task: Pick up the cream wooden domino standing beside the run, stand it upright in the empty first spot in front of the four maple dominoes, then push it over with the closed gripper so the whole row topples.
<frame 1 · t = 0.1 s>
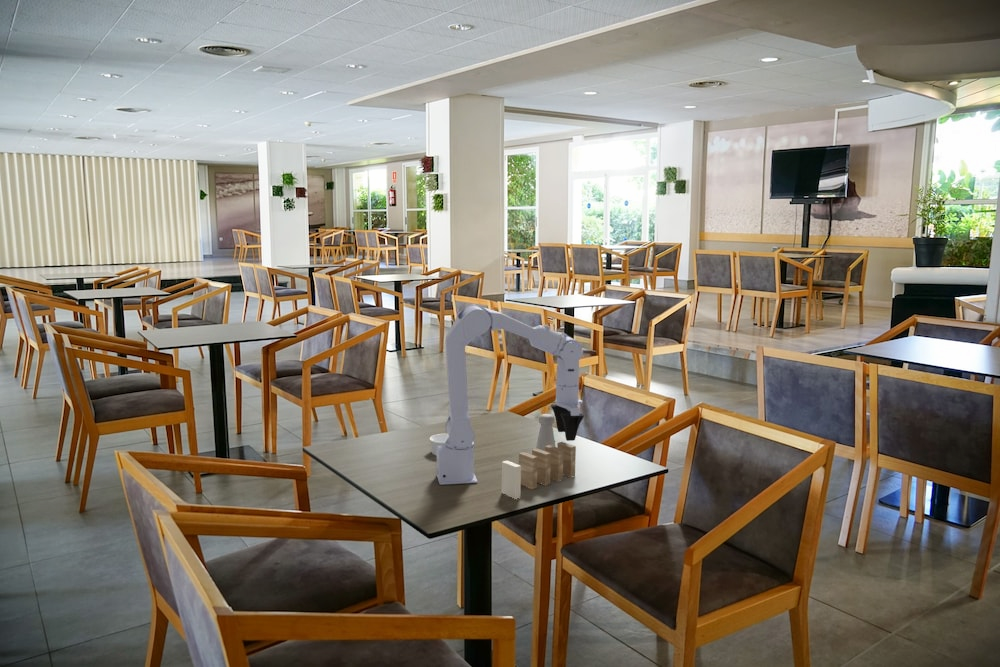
hand: (566, 435, 199), 10 cm above the table, tool pointing down, fingers open, 7 cm apart
salt shaker: (545, 461, 210), on the table
ramekin: (445, 453, 216), on the table
domino 3: (540, 482, 194), on the table
domino 4: (553, 478, 196), on the table
domino 2: (527, 486, 191), on the table
domino 5: (565, 474, 199), on the table
front domino: (510, 495, 184), on the table
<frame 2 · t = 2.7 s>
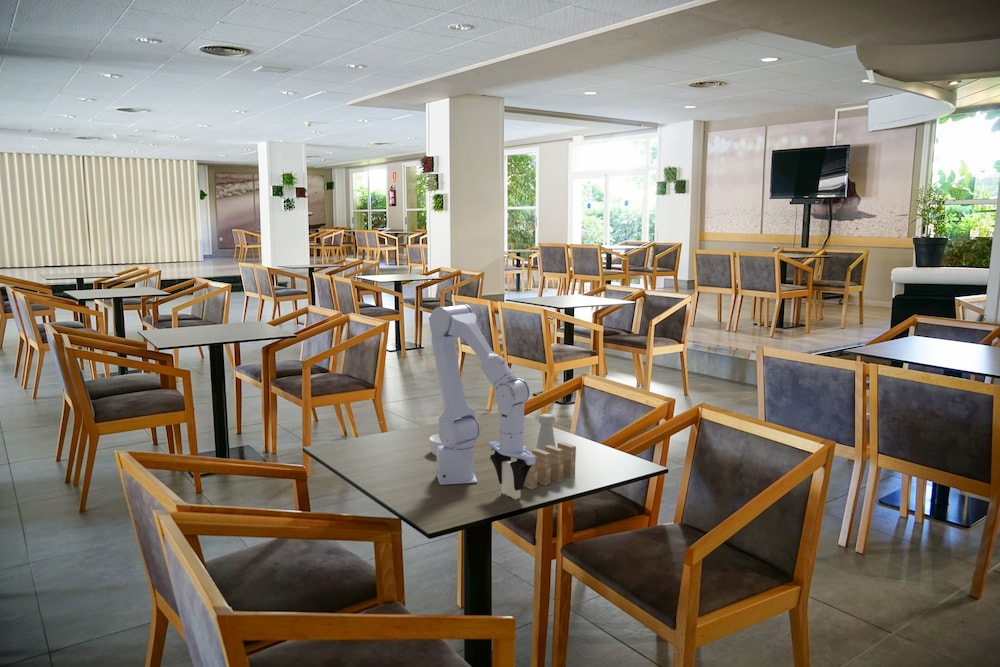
hand: (511, 486, 184), 2 cm above the table, tool pointing down, fingers closed on front domino, 5 cm apart
front domino: (510, 495, 184), on the table, touching gripper
everything else where it was.
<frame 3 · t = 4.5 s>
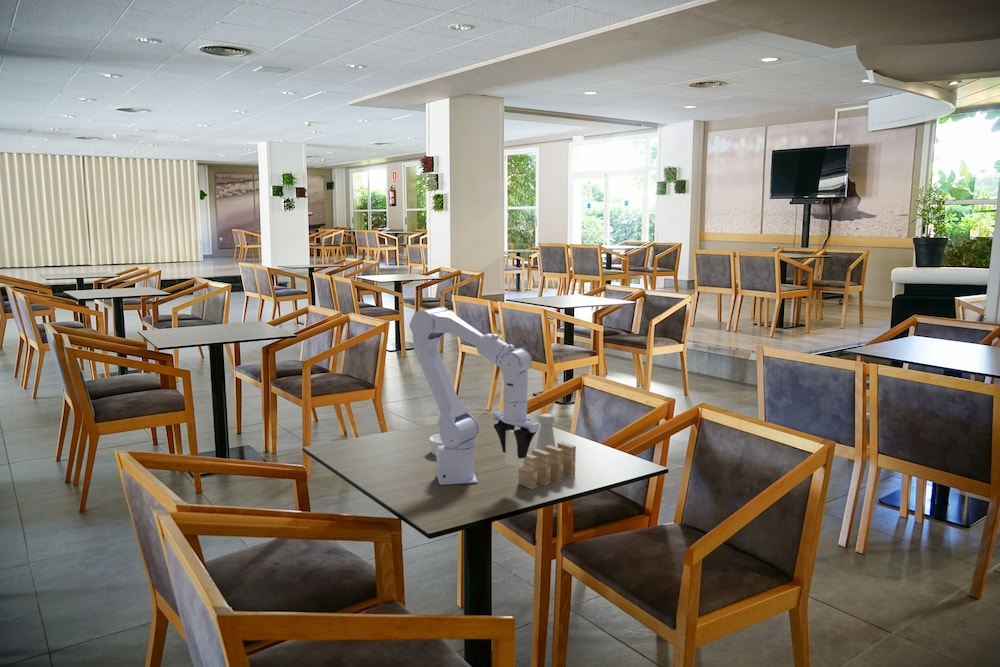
hand: (514, 454, 186), 9 cm above the table, tool pointing down, fingers closed on front domino, 5 cm apart
front domino: (514, 464, 187), point 7 cm above the table, touching gripper
everything else where it was.
when the fingers open (3 cm above the table, at t = 6.3 s): front domino stays where it is, on the table.
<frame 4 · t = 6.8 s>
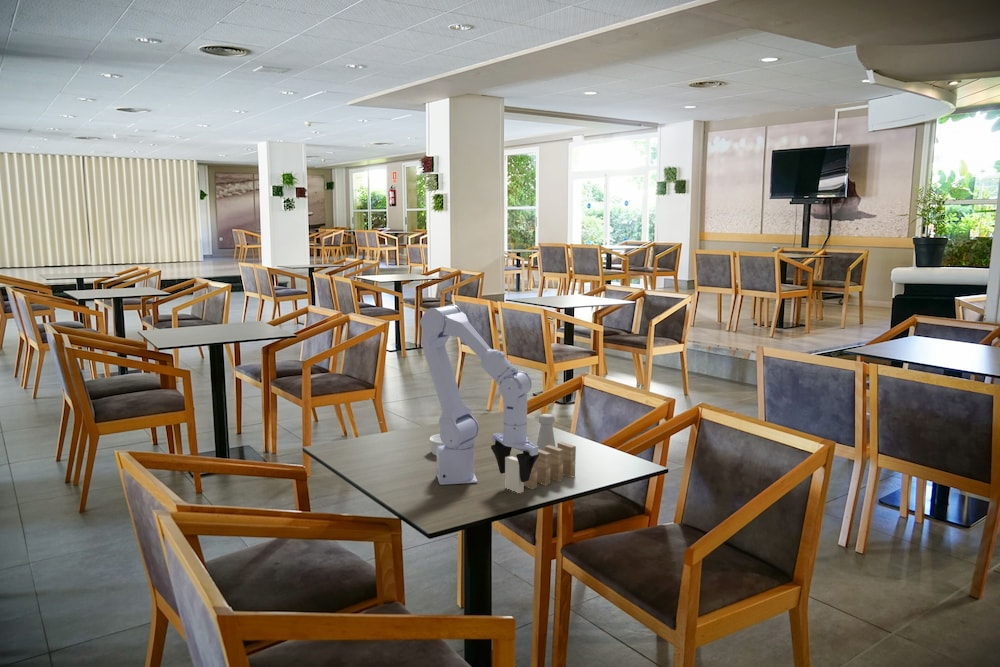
hand: (514, 476, 187), 3 cm above the table, tool pointing down, fingers open, 7 cm apart
front domino: (514, 490, 188), on the table
everything else where it was.
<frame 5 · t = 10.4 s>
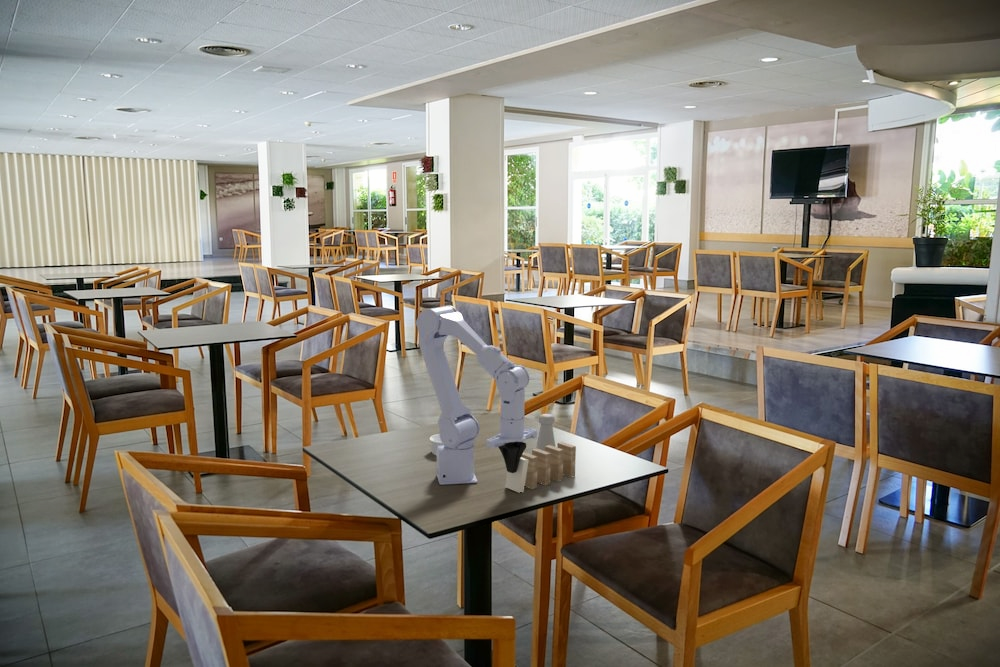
hand: (511, 471, 186), 5 cm above the table, tool pointing down, fingers closed
front domino: (514, 489, 188), on the table, tilted 11°
everything else where it was.
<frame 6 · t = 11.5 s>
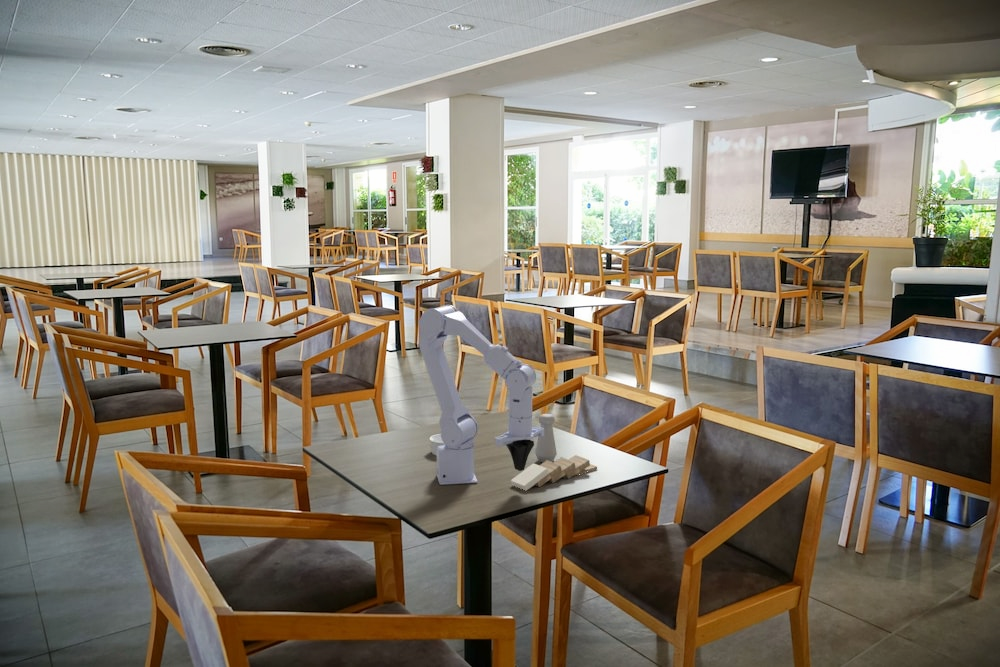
hand: (519, 469, 188), 5 cm above the table, tool pointing down, fingers closed
domino 3: (545, 477, 194), point 1 cm above the table, tilted 71°, touching domino 2, domino 4
domino 4: (560, 473, 198), point 1 cm above the table, tilted 75°, touching domino 3, domino 5
domino 2: (531, 481, 191), point 1 cm above the table, tilted 70°, touching domino 3, front domino
domino 5: (568, 473, 200), on the table, tilted 90°, touching domino 4
front domino: (518, 485, 189), point 1 cm above the table, tilted 70°, touching domino 2
everything else where it was.
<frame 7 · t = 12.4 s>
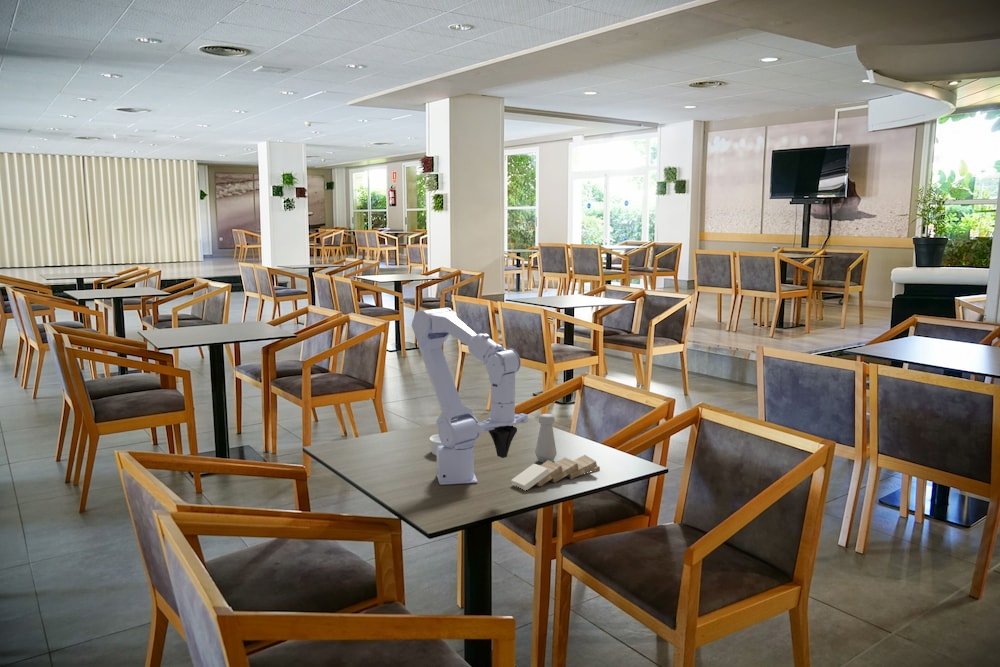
hand: (502, 456, 184), 9 cm above the table, tool pointing down, fingers closed
domino 3: (547, 477, 195), point 1 cm above the table, tilted 72°, touching domino 2
domino 4: (565, 473, 198), point 1 cm above the table, tilted 74°
domino 5: (571, 473, 200), on the table, tilted 90°
front domino: (518, 485, 189), point 1 cm above the table, tilted 70°, touching domino 2
everything else where it was.
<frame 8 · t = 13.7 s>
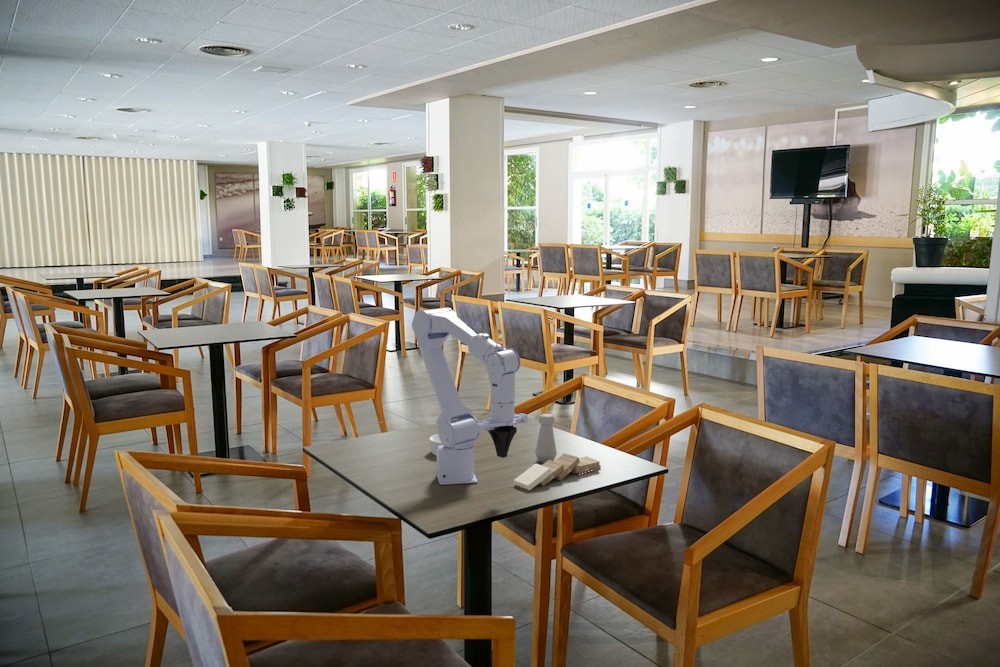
hand: (501, 456, 184), 9 cm above the table, tool pointing down, fingers closed
domino 3: (552, 475, 196), point 1 cm above the table, tilted 67°, touching domino 2
domino 4: (570, 467, 200), point 2 cm above the table, tilted 90°, touching domino 5
domino 5: (572, 472, 201), on the table, tilted 90°, touching domino 4
front domino: (521, 485, 189), point 1 cm above the table, tilted 71°, touching domino 2
at the end: domino 5 tilted 90°; front domino tilted 71°; front domino 4.8 cm from the domino 2 (horizontally) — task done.
